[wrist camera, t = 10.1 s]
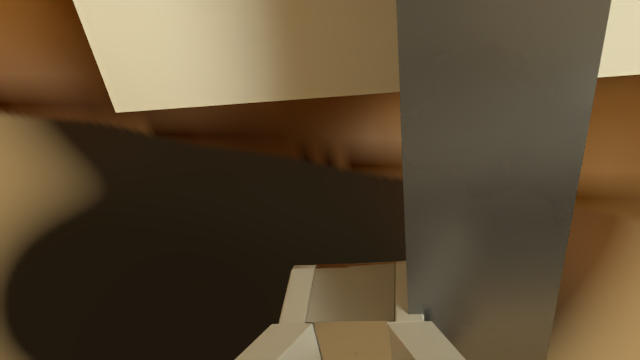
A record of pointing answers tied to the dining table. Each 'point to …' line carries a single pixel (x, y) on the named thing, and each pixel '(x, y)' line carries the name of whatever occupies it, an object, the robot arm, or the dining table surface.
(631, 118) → the dining table surface
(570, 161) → the grey bar
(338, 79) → the housing
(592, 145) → the dining table surface
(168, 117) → the dining table surface
